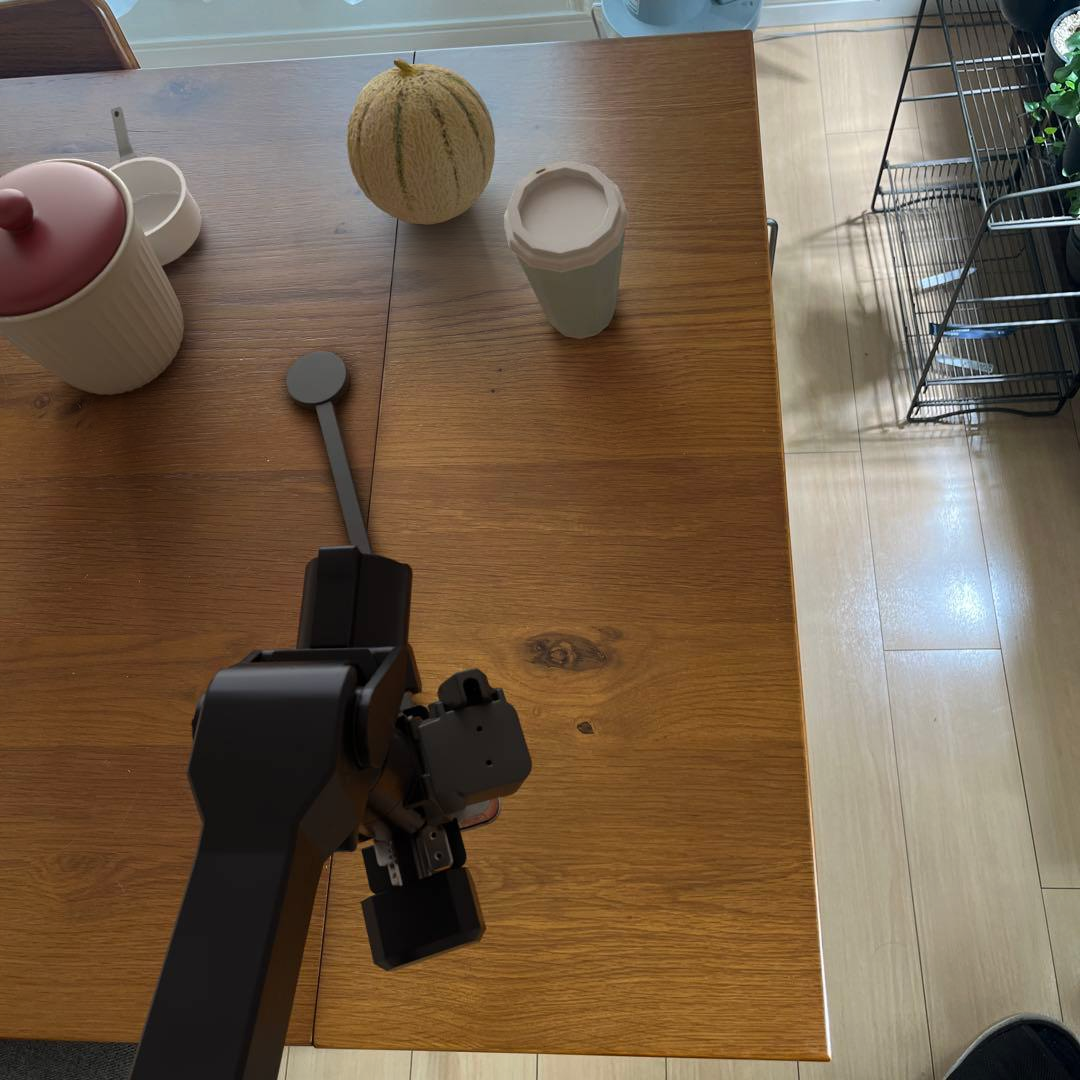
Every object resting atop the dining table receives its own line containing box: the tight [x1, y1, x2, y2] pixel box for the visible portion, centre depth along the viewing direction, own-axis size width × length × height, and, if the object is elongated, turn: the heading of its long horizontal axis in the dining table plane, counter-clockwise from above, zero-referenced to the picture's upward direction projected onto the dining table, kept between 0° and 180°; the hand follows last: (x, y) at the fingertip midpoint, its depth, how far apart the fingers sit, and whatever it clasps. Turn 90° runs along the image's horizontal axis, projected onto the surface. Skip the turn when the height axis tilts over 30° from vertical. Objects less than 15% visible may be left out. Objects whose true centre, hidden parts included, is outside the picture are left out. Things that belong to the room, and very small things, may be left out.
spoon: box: [285, 350, 415, 710], centre depth 86 cm, size 40×6×1 cm, turn 18°
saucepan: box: [108, 106, 203, 267], centre depth 104 cm, size 12×20×6 cm, turn 18°
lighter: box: [452, 797, 502, 833], centre depth 63 cm, size 8×3×10 cm, turn 97°
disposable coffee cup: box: [503, 159, 630, 340], centre depth 87 cm, size 11×11×15 cm
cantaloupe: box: [346, 58, 496, 225], centre depth 95 cm, size 15×15×15 cm
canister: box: [0, 158, 185, 396], centre depth 89 cm, size 18×18×21 cm
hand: (425, 813), depth 64 cm, fingers closed on lighter, 3 cm apart
